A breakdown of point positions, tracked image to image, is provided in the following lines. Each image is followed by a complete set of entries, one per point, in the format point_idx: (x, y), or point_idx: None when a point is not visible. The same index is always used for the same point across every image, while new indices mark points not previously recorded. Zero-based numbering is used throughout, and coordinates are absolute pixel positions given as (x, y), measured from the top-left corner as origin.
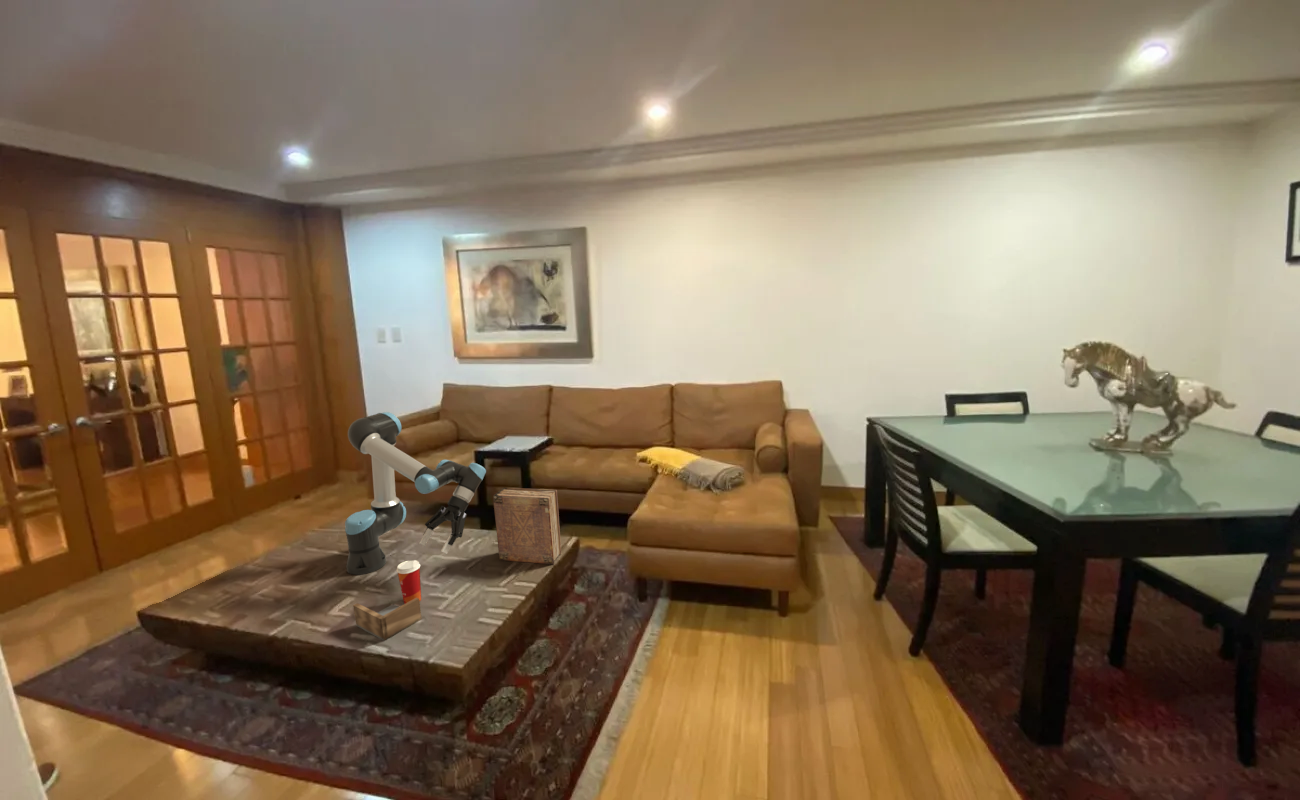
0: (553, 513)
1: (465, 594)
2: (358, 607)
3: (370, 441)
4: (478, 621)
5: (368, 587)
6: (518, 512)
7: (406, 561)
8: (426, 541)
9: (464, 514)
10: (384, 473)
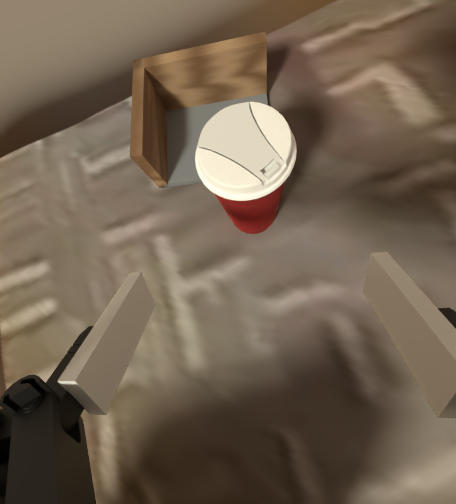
0: None
1: (155, 315)
2: (239, 38)
3: None
4: (42, 259)
5: (452, 169)
6: None
7: (282, 151)
8: (379, 309)
9: None
10: None
